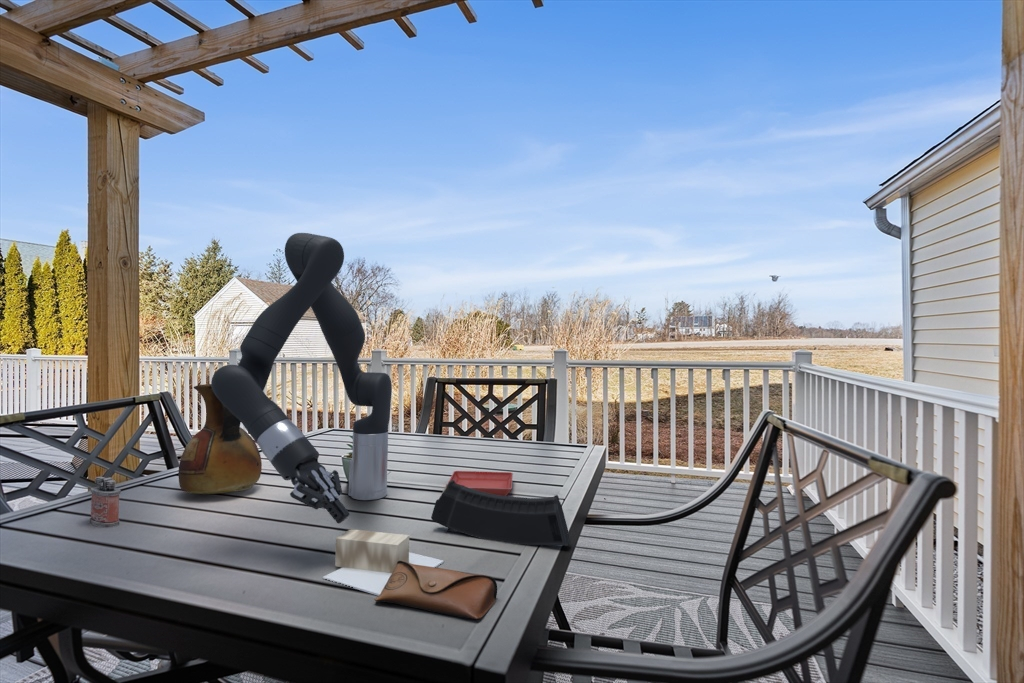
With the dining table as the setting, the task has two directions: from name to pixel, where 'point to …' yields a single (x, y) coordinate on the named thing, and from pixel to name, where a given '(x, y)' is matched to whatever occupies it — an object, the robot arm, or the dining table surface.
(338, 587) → the dining table surface
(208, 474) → the ceramic pitcher
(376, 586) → the mat
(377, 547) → the birch block
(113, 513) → the lighter
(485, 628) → the dining table surface
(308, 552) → the dining table surface
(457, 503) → the magazine
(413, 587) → the sunglasses case
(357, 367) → the robot arm
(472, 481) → the plant saucer
